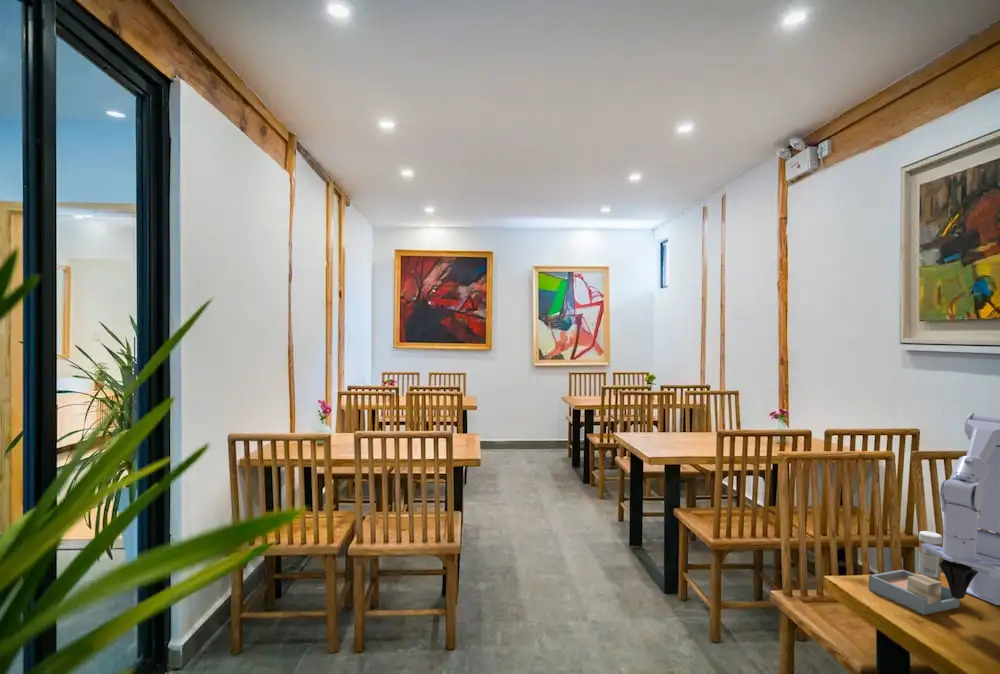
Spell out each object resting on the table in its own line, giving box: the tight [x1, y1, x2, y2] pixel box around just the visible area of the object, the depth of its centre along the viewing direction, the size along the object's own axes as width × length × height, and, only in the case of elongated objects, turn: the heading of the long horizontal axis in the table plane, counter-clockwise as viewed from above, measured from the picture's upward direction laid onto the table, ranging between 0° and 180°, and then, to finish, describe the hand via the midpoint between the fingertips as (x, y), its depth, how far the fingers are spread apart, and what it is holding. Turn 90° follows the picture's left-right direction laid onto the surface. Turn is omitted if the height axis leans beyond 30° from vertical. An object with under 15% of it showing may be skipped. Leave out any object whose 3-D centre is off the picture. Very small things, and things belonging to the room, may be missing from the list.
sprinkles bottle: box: [918, 530, 943, 582], centre depth 140 cm, size 5×5×13 cm
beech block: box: [907, 573, 942, 605], centre depth 129 cm, size 4×4×4 cm
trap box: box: [868, 569, 960, 616], centre depth 134 cm, size 12×13×4 cm
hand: (957, 597), depth 123 cm, fingers closed
